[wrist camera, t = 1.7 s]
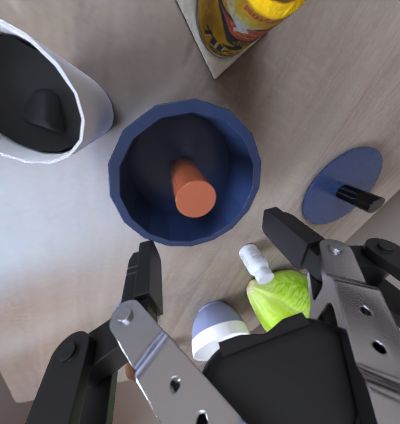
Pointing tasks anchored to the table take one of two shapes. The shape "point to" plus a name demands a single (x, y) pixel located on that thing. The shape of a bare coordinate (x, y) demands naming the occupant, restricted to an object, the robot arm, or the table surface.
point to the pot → (200, 154)
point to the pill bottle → (256, 264)
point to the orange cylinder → (191, 188)
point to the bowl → (215, 328)
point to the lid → (344, 186)
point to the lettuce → (279, 297)
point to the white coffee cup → (45, 102)
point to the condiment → (232, 26)
